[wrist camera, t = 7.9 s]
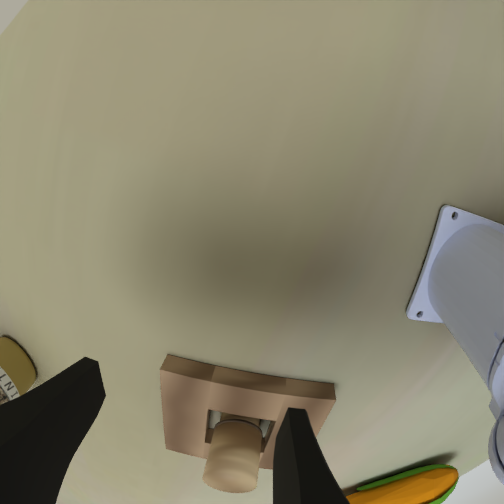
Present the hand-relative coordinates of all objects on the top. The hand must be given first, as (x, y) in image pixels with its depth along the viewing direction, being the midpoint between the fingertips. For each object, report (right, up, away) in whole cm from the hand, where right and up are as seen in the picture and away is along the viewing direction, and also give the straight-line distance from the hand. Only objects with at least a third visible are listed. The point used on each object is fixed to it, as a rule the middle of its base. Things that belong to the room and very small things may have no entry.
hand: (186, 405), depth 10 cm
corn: (+20, -25, +18) cm, 36 cm away
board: (+1, -9, +14) cm, 17 cm away
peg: (+1, -9, +14) cm, 16 cm away
